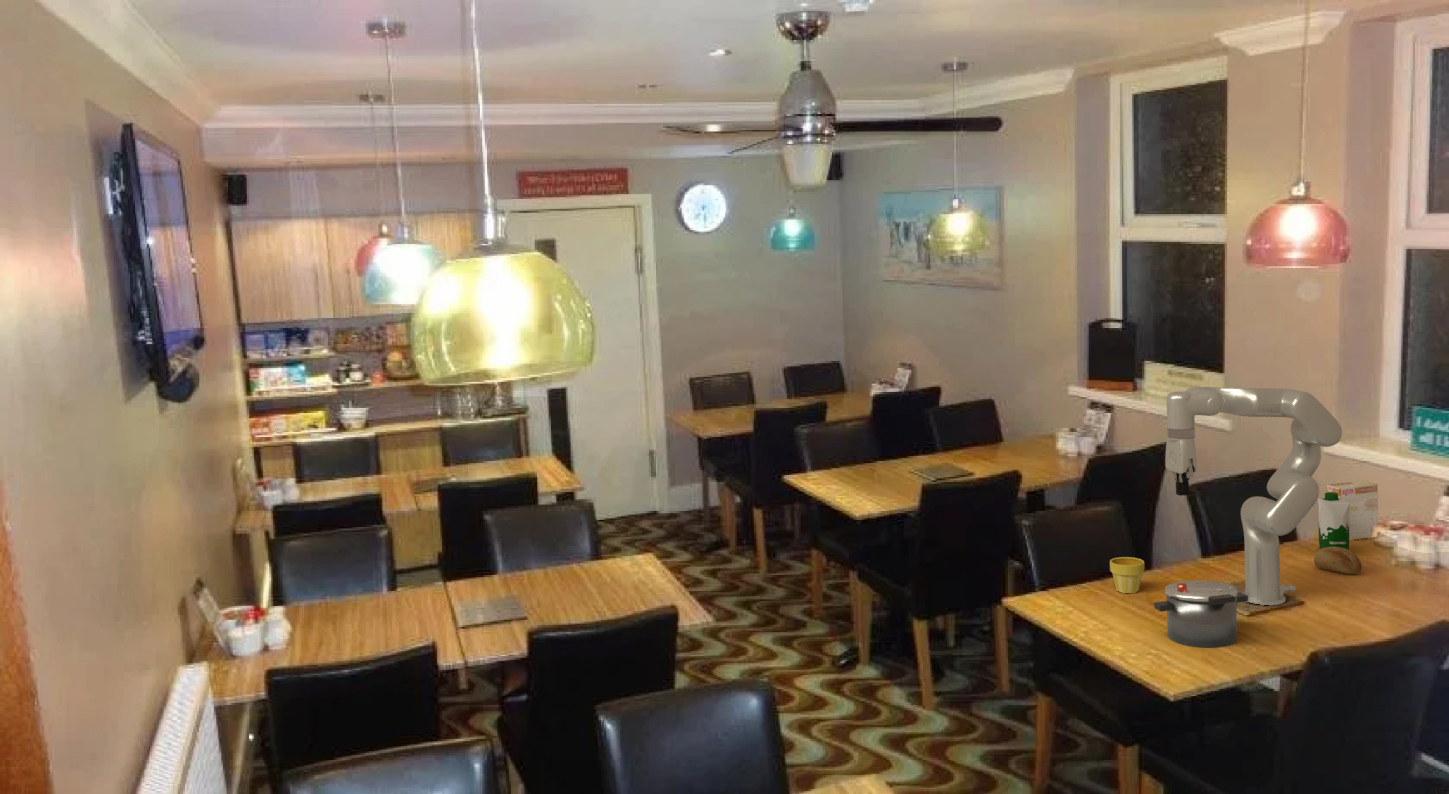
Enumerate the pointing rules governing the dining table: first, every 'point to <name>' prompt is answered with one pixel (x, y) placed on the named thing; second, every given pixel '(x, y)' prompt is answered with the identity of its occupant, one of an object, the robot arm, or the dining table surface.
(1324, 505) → the milk carton
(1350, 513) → the coffeecake box
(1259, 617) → the dining table surface
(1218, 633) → the pressure cooker
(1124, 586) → the plant pot
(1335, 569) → the bread roll
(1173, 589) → the cooker lid
